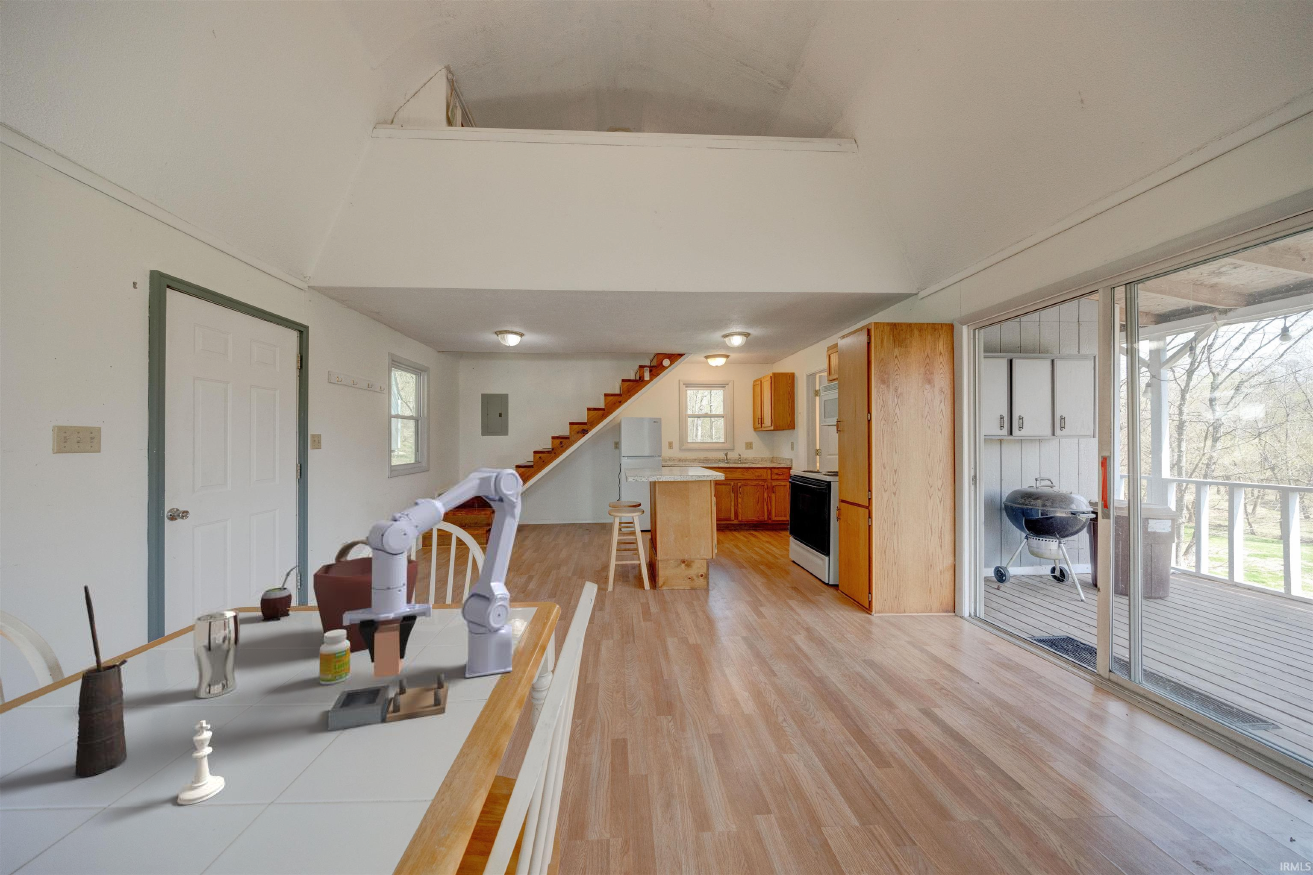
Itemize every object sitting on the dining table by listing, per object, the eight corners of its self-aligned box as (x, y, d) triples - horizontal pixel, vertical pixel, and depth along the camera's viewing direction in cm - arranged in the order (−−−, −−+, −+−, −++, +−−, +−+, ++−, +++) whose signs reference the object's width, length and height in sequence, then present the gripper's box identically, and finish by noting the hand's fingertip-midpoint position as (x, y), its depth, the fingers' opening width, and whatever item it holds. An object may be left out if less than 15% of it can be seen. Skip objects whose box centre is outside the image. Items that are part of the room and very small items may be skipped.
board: (448, 688, 99) (448, 670, 100) (444, 712, 90) (445, 693, 90) (395, 696, 96) (395, 678, 96) (386, 722, 87) (386, 702, 87)
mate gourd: (257, 618, 140) (258, 565, 140) (291, 611, 146) (291, 560, 146) (264, 624, 135) (264, 569, 135) (298, 616, 141) (299, 564, 141)
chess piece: (197, 781, 72) (198, 712, 72) (233, 779, 72) (234, 710, 72) (167, 805, 67) (168, 732, 67) (205, 803, 67) (206, 730, 68)
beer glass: (246, 686, 100) (247, 612, 100) (203, 702, 94) (204, 623, 94) (227, 679, 103) (229, 607, 103) (185, 694, 97) (186, 618, 97)
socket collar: (389, 700, 95) (389, 684, 95) (380, 722, 87) (381, 705, 87) (341, 707, 92) (341, 691, 92) (328, 730, 85) (328, 713, 85)
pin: (402, 665, 94) (402, 623, 94) (398, 674, 90) (399, 630, 90) (378, 668, 93) (379, 626, 93) (374, 678, 89) (374, 633, 89)
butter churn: (149, 736, 83) (152, 570, 83) (156, 759, 77) (159, 580, 77) (64, 763, 76) (68, 581, 76) (65, 791, 70) (68, 593, 70)
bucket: (429, 639, 125) (430, 540, 125) (328, 668, 108) (330, 555, 109) (392, 616, 141) (392, 529, 141) (299, 639, 124) (300, 540, 125)
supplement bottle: (334, 686, 100) (335, 638, 100) (312, 683, 101) (313, 636, 102) (355, 674, 106) (356, 628, 106) (334, 671, 107) (335, 627, 107)
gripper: (338, 595, 86) (337, 673, 85) (429, 587, 90) (428, 661, 90) (349, 584, 92) (348, 657, 92) (433, 577, 97) (432, 647, 97)
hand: (388, 658), depth 91 cm, fingers closed on pin, 4 cm apart
